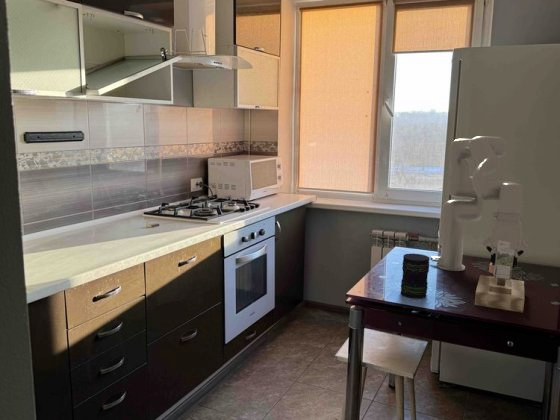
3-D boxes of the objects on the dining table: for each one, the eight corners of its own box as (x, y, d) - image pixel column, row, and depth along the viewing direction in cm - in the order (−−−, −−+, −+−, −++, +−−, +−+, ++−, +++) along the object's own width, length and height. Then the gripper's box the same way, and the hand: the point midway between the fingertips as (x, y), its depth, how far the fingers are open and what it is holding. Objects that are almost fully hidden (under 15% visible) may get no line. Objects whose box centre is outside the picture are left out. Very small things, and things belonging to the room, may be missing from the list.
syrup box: (509, 276, 187) (513, 238, 185) (511, 280, 181) (515, 241, 179) (492, 274, 189) (496, 236, 186) (494, 278, 183) (498, 239, 181)
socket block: (474, 304, 184) (475, 291, 183) (479, 286, 206) (480, 274, 205) (522, 312, 178) (524, 299, 177) (522, 293, 199) (523, 281, 198)
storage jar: (422, 300, 187) (425, 261, 184) (396, 295, 192) (399, 257, 189) (429, 293, 195) (433, 256, 193) (405, 288, 200) (407, 252, 198)
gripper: (481, 216, 182) (477, 264, 185) (535, 221, 174) (529, 271, 177) (483, 213, 188) (478, 260, 191) (534, 218, 181) (529, 266, 184)
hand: (503, 265), depth 184 cm, fingers closed on syrup box, 6 cm apart
